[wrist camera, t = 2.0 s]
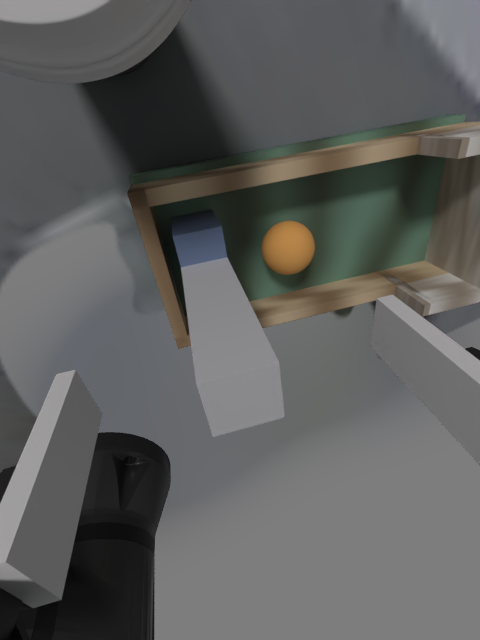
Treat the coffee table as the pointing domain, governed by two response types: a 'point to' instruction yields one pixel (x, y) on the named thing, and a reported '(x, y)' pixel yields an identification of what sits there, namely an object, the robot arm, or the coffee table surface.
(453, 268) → the wooden tray
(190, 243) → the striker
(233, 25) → the coffee table surface
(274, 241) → the ball
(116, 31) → the coffee cup
